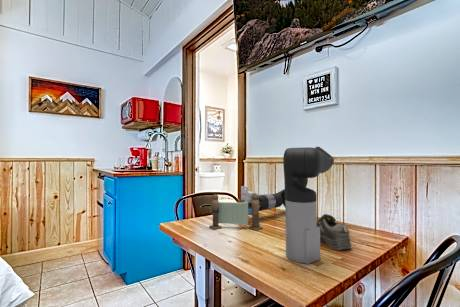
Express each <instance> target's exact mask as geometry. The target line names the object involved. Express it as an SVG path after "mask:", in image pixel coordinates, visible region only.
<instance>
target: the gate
mask: <svg viewBox="0 0 460 307" xmlns="http://www.w3.org/2000/svg"><path fill="white" fill-rule="evenodd" d="M218 206H219V213H218V225H219V224H231V225H232V224H234V225H243V226H244V227H249V215H248V202H244V203H240V202H232V201H231V202H230V201H228V202H227V201H220V200H218Z"/></svg>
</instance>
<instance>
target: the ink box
mask: <svg viewBox="0 0 460 307" xmlns="http://www.w3.org/2000/svg"><path fill="white" fill-rule="evenodd" d="M240 190H241V191H240V200H241V201H242V200H245V201H247V200H250V199H251V196H252V195H253V194H255V193H256V194H257V192H255V191H251V190H249V186H245V185H241V186H240ZM241 201H240V202H241ZM250 215H251V216H252V209H248V216H250Z"/></svg>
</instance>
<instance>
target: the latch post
mask: <svg viewBox="0 0 460 307" xmlns="http://www.w3.org/2000/svg"><path fill="white" fill-rule="evenodd" d="M211 199H212V206H211V213H212V225H209V226H208V227H209V229H211V230H213V231H215V230H219V229H220V230H221V229H222V226H221V225H219V224H218V213H219V206H218V201H219V195H218V194H217V193H215V194H212V196H211Z"/></svg>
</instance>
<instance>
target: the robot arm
mask: <svg viewBox="0 0 460 307" xmlns="http://www.w3.org/2000/svg"><path fill="white" fill-rule="evenodd" d="M282 158H283V160H282V161H283V162H282V164H283V175H284V176H283V178H284V189H282V190H280V191H278V192H277V193H271V194H269V193H268V194H267V193H266V194H265V193H264V194H258V195H259V212H262V211H267V210H271V209H276V208H280V207H281V206H283V207H284V208H285V210H284V211H285V213H284V214H285V216H284V217H285V257H286V258H287V259H288V260H290V261H293V262H297V263H303V264H306V265H308V264H312V263H314V262H318V261H319V260H321V242H320V227H318V226H317V220H318V218H317V216H318V213H317V211H318V208H317V207H318V206H317V205H318V204H317V203H318V202H317V200H318V197H317V192H316V191H315V190H314V189H311V188H308V187H307V186H308V183H309V181H308V179H313V178H317V177H318V176H319V175H320V174H324V173H326V172H327V171H329V170H330V169H331V168H332V167H333V165H334V163H335V159H334V157H333V156H332V155H331V154H330V153H328V152H327V151H326V150H324V149H323V148H321V147H320V146H315V147H307V146H306V147H288V148H286V149H285V150H284V153H283V156H282ZM244 202H248V209H252V199H250V200H247V201H245V200H242V201H240V202H239V203H244Z"/></svg>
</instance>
